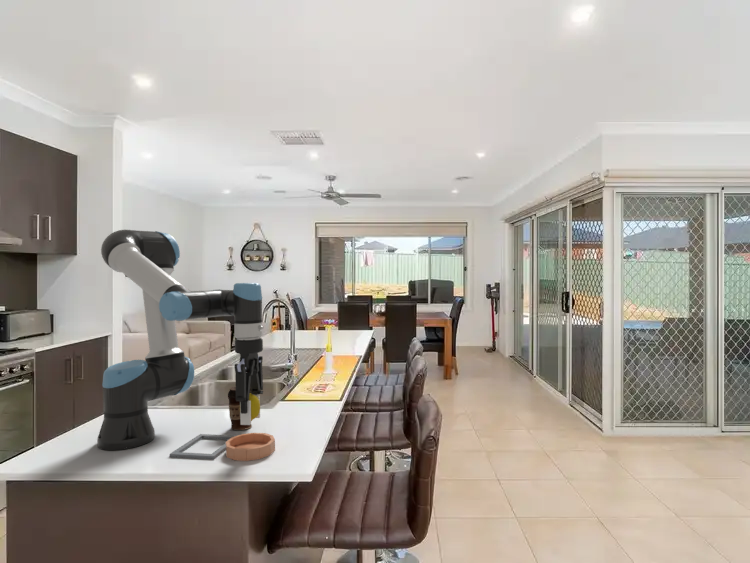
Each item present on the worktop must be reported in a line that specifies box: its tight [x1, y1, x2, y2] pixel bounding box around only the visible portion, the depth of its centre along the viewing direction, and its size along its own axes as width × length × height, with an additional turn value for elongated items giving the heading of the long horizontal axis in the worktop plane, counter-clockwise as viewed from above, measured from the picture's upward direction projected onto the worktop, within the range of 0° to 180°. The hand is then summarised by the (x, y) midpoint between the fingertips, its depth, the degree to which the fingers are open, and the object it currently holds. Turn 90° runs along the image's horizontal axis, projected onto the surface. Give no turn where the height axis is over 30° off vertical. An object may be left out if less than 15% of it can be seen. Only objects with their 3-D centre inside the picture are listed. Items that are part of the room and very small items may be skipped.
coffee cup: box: [227, 386, 253, 431], centre depth 151 cm, size 9×8×13 cm
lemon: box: [249, 393, 261, 422], centre depth 130 cm, size 6×6×8 cm
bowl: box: [225, 432, 276, 462], centre depth 130 cm, size 13×13×3 cm
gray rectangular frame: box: [169, 433, 236, 460], centre depth 134 cm, size 13×16×1 cm
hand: (250, 420), depth 130 cm, fingers closed on lemon, 5 cm apart
